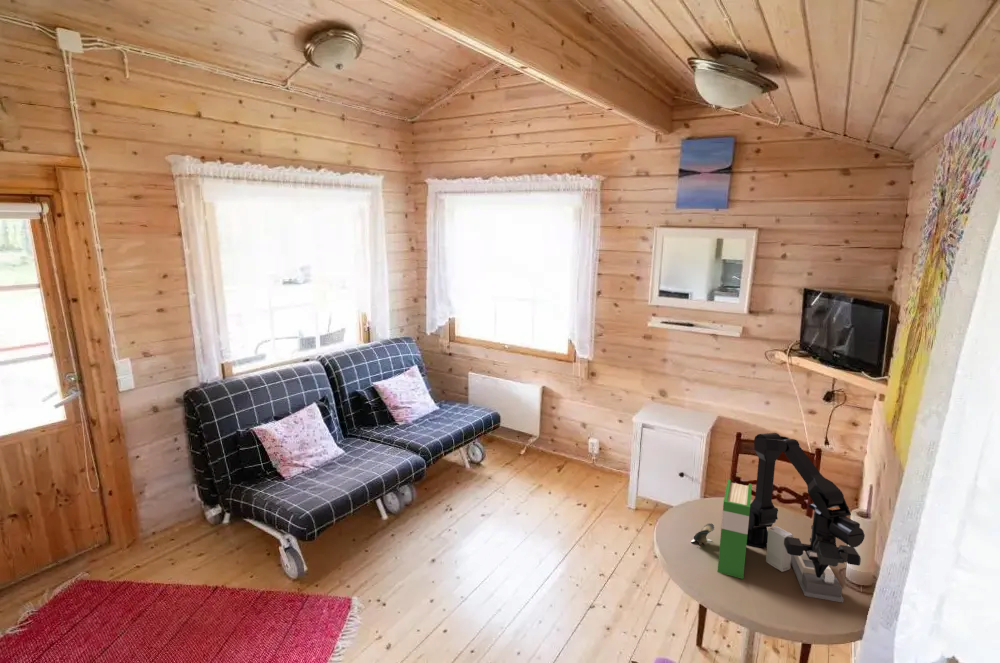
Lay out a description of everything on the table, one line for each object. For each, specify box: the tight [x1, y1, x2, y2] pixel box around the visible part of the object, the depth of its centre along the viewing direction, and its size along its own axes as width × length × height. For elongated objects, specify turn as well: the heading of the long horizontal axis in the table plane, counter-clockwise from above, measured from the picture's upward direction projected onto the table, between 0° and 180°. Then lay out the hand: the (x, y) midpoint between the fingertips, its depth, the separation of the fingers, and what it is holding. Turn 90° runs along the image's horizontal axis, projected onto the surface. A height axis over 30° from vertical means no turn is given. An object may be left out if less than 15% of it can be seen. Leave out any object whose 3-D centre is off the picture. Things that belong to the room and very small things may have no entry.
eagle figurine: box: [690, 523, 715, 549], centre depth 178 cm, size 8×7×9 cm
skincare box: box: [765, 525, 794, 572], centre depth 168 cm, size 6×4×12 cm
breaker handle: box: [821, 568, 836, 584], centre depth 155 cm, size 2×3×3 cm
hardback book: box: [717, 478, 753, 580], centre depth 170 cm, size 18×7×24 cm, turn 153°
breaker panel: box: [790, 551, 844, 603], centre depth 163 cm, size 10×20×4 cm, turn 164°
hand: (817, 576), depth 156 cm, fingers closed
